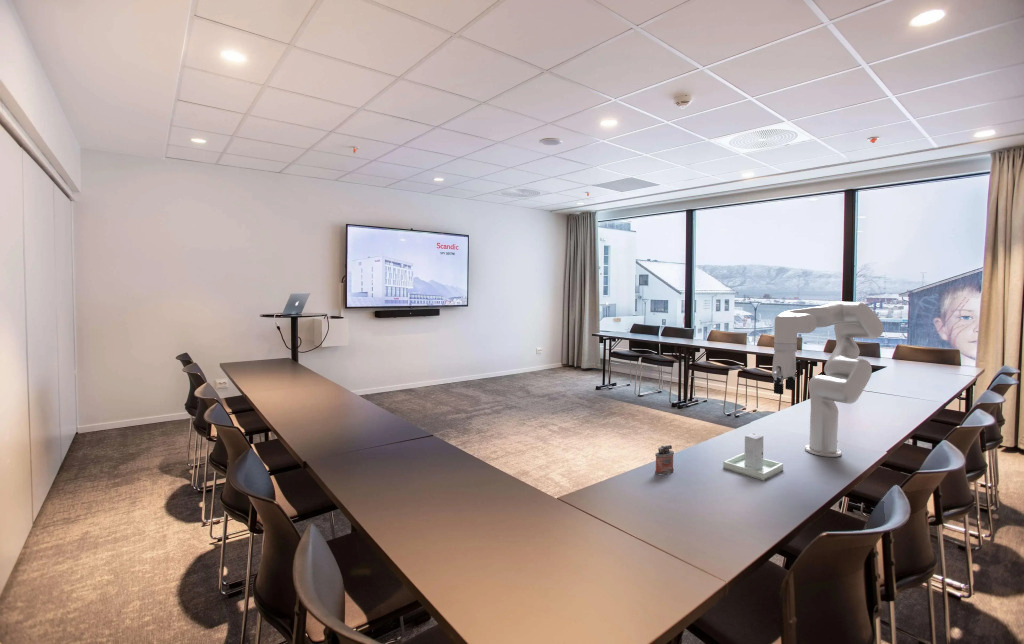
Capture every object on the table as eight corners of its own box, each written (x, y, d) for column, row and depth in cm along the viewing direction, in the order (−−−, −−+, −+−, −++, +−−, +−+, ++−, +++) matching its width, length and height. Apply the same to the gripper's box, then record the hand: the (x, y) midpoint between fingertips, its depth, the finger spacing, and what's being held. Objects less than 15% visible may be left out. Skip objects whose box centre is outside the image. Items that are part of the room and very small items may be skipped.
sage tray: (743, 458, 190) (743, 452, 189) (783, 470, 178) (783, 463, 178) (723, 468, 181) (723, 461, 180) (763, 480, 169) (764, 473, 169)
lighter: (659, 476, 174) (660, 449, 173) (653, 472, 177) (653, 446, 176) (675, 471, 178) (676, 445, 177) (668, 468, 181) (669, 442, 180)
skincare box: (755, 471, 176) (756, 439, 175) (743, 467, 179) (744, 435, 178) (763, 467, 179) (764, 435, 178) (751, 463, 183) (752, 432, 182)
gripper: (785, 344, 190) (784, 386, 191) (764, 348, 179) (763, 393, 181) (805, 346, 184) (804, 389, 185) (785, 350, 173) (784, 397, 175)
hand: (784, 391), depth 183 cm, fingers open, 9 cm apart
